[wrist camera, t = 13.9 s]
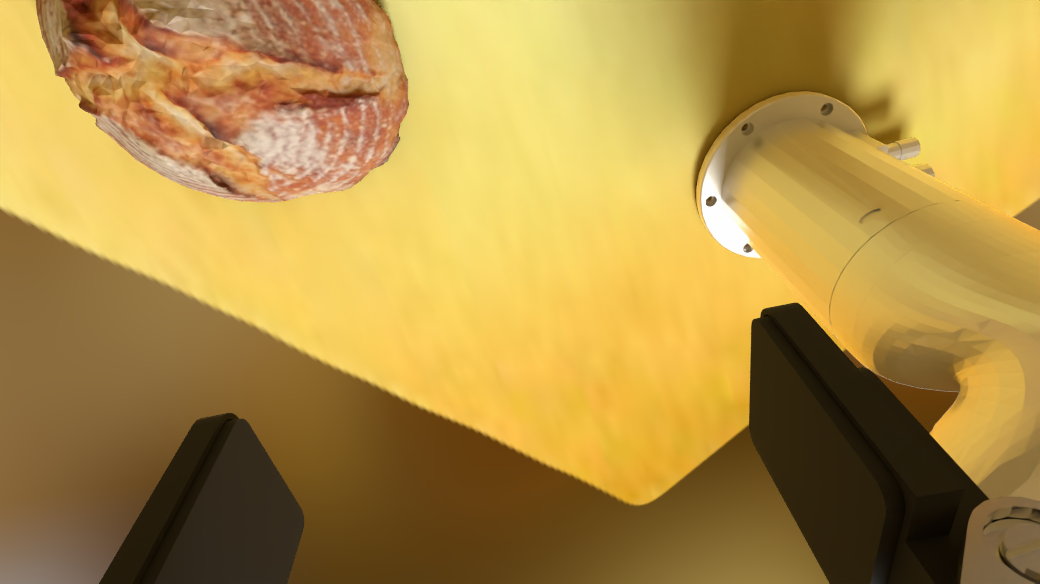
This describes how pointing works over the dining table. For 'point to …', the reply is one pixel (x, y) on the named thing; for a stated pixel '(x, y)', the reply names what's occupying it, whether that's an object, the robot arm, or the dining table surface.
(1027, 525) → the robot arm
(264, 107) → the bread
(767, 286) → the dining table surface
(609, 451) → the dining table surface
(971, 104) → the dining table surface
